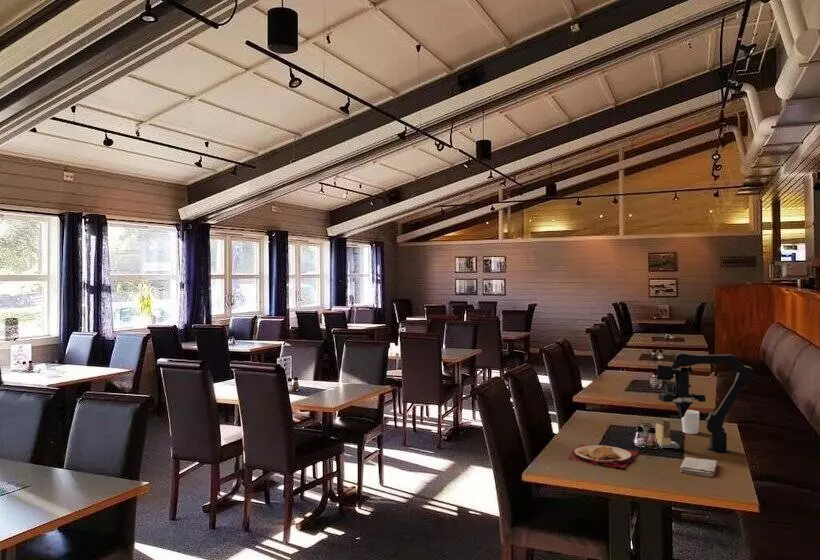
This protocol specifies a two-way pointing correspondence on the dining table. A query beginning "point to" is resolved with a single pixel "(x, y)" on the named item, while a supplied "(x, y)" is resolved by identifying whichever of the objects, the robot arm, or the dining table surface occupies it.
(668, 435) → the block
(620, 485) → the dining table surface
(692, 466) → the washcloth
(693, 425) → the white cup
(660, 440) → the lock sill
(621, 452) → the plate with food
